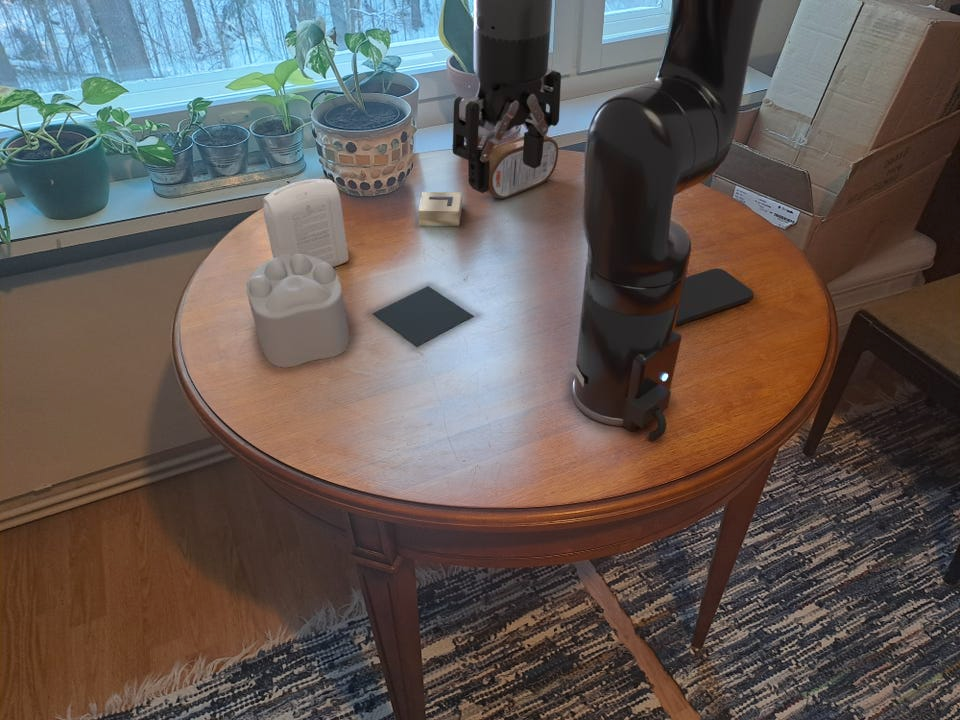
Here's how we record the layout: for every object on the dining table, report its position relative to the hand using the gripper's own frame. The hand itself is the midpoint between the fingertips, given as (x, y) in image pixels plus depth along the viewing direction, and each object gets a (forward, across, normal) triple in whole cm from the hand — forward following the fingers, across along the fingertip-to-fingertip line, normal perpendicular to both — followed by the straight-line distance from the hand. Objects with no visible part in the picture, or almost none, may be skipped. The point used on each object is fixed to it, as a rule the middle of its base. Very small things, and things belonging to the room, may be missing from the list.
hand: (506, 177), depth 80 cm
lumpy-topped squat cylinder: (+18, -22, +13) cm, 31 cm away
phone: (+17, +17, -17) cm, 29 cm away
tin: (+18, +25, +19) cm, 36 cm away
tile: (+18, +10, +22) cm, 30 cm away
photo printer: (+18, -12, +24) cm, 32 cm away
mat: (+17, -9, +5) cm, 20 cm away
